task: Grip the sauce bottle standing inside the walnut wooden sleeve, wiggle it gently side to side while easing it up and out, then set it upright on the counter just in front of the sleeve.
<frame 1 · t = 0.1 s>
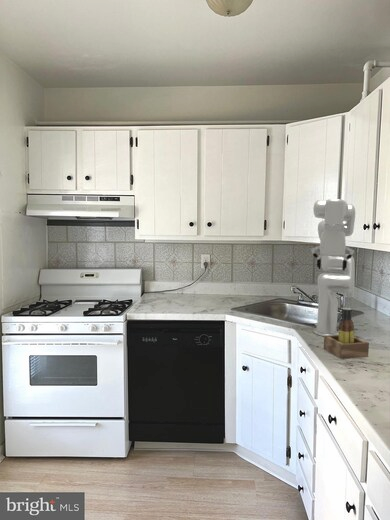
hand: (331, 269, 157), 37 cm above the worktop, tool pointing down, fingers open, 9 cm apart
sauce bottle: (345, 353, 163), resting in walnut sleeve
walnut sleeve: (345, 352, 163), on the worktop
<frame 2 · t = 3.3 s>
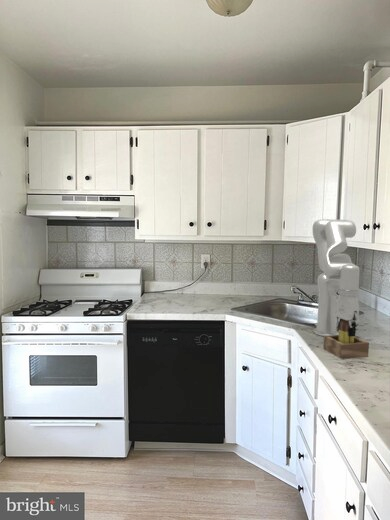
hand: (346, 333, 162), 9 cm above the worktop, tool pointing down, fingers closed on sauce bottle, 6 cm apart
sauce bottle: (345, 353, 163), resting in walnut sleeve, touching gripper
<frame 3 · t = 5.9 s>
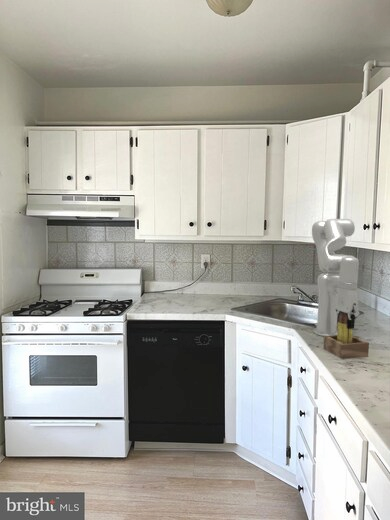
hand: (345, 325, 162), 12 cm above the worktop, tool pointing down, fingers closed on sauce bottle, 6 cm apart
sauce bottle: (344, 345, 163), point 3 cm above the worktop, touching gripper
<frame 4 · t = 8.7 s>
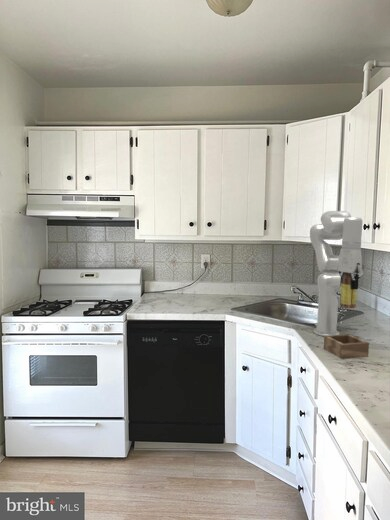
hand: (348, 287, 160), 29 cm above the worktop, tool pointing down, fingers closed on sauce bottle, 6 cm apart
sauce bottle: (347, 307, 161), point 20 cm above the worktop, touching gripper
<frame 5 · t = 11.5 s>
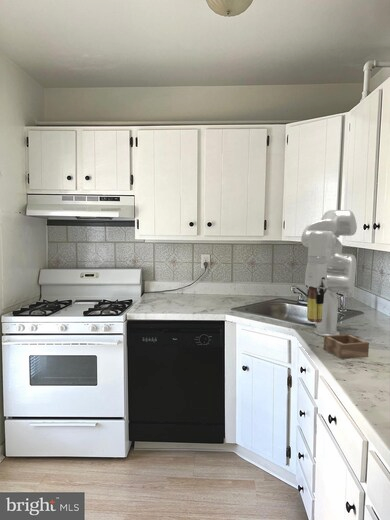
hand: (315, 301, 159), 23 cm above the worktop, tool pointing down, fingers closed on sauce bottle, 6 cm apart
sauce bottle: (314, 321, 159), point 14 cm above the worktop, touching gripper
when the fingers open (10 cm above the worktop, at t = 14.2 s): sauce bottle drops 1 cm, on the worktop.
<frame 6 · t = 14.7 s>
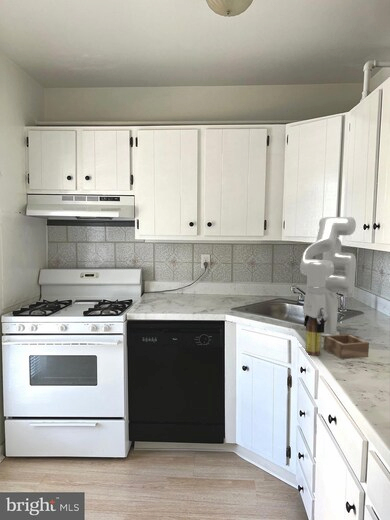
hand: (313, 329, 160), 11 cm above the worktop, tool pointing down, fingers open, 9 cm apart
sauce bottle: (312, 353, 161), on the worktop
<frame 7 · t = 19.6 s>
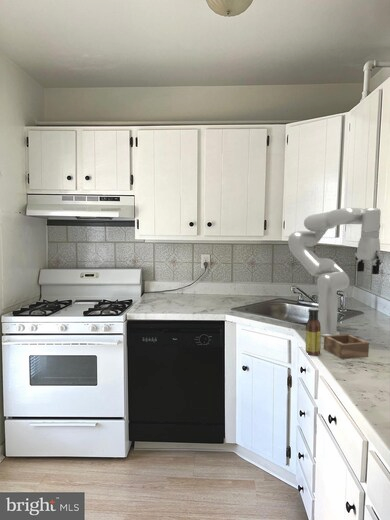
hand: (367, 272, 170), 34 cm above the worktop, tool pointing down, fingers open, 9 cm apart
nothing on the worktop moved.
at the end: sauce bottle inside the target area (0.4 cm from its centre), on the worktop; sauce bottle tilted 0°; the gripper is holding nothing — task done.
